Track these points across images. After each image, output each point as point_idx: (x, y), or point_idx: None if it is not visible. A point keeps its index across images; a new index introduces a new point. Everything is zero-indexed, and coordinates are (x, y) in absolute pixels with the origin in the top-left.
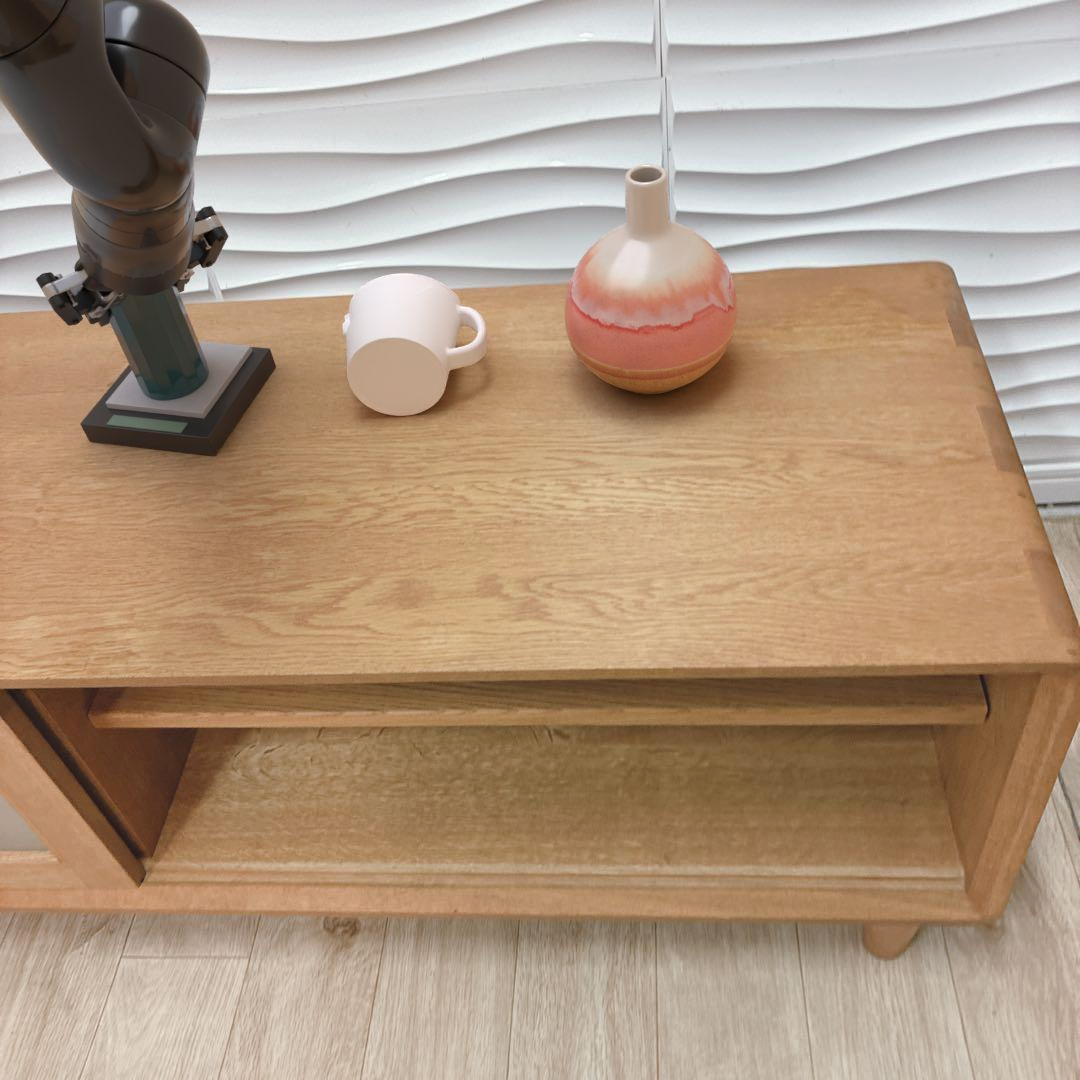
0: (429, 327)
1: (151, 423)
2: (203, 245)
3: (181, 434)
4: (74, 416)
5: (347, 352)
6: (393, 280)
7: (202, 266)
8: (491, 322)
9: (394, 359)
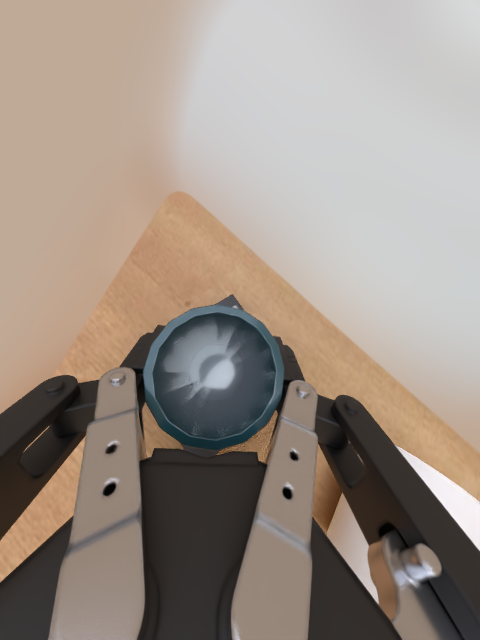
0: None
1: None
2: (365, 512)
3: (182, 444)
4: (147, 317)
5: (360, 543)
6: (470, 512)
7: (318, 442)
8: (449, 473)
9: None
